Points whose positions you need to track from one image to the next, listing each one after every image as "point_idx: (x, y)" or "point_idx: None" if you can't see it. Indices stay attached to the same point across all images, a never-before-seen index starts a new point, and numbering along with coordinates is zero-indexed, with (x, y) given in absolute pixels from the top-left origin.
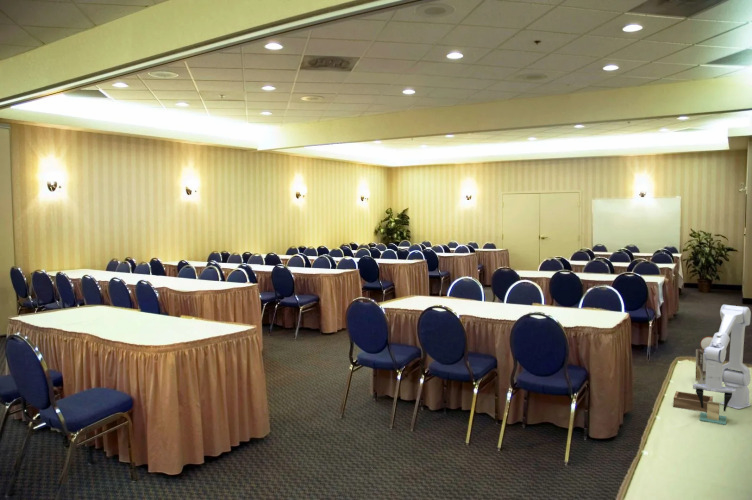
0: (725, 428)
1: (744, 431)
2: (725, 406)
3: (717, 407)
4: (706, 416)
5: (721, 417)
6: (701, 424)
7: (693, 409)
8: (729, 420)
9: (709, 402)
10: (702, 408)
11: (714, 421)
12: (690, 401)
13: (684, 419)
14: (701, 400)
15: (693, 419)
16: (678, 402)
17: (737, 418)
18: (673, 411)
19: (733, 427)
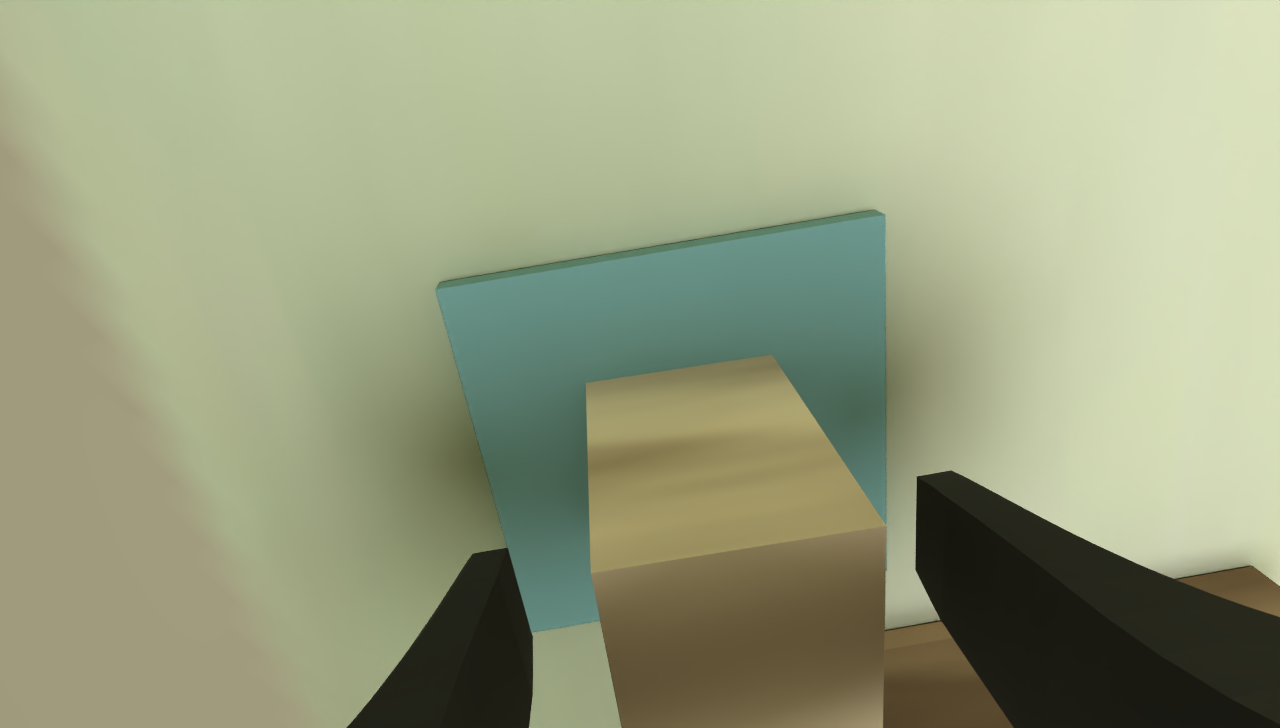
0: (385, 89)
1: (57, 165)
2: (435, 636)
3: (621, 534)
4: None
5: (580, 548)
6: (818, 2)
7: None
8: (463, 539)
9: (843, 670)
10: (885, 673)
11: (630, 282)
12: None
13: (1127, 83)
14: (1083, 566)
15: (972, 201)
16: None
17: None
18: (1276, 378)
19: (296, 254)
